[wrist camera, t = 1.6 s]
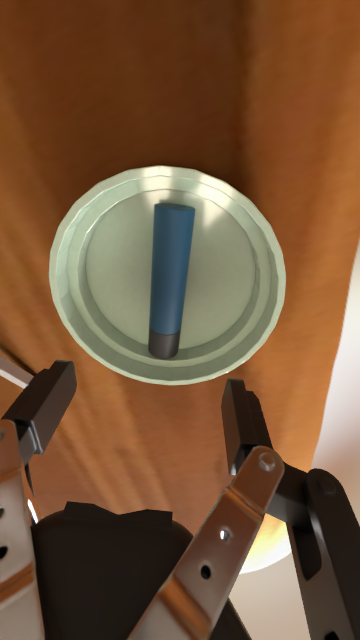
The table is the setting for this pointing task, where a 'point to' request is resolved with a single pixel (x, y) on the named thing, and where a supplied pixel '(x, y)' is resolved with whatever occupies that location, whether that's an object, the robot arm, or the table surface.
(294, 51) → the table surface
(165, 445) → the table surface
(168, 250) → the marker
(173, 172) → the bowl
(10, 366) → the caliper
